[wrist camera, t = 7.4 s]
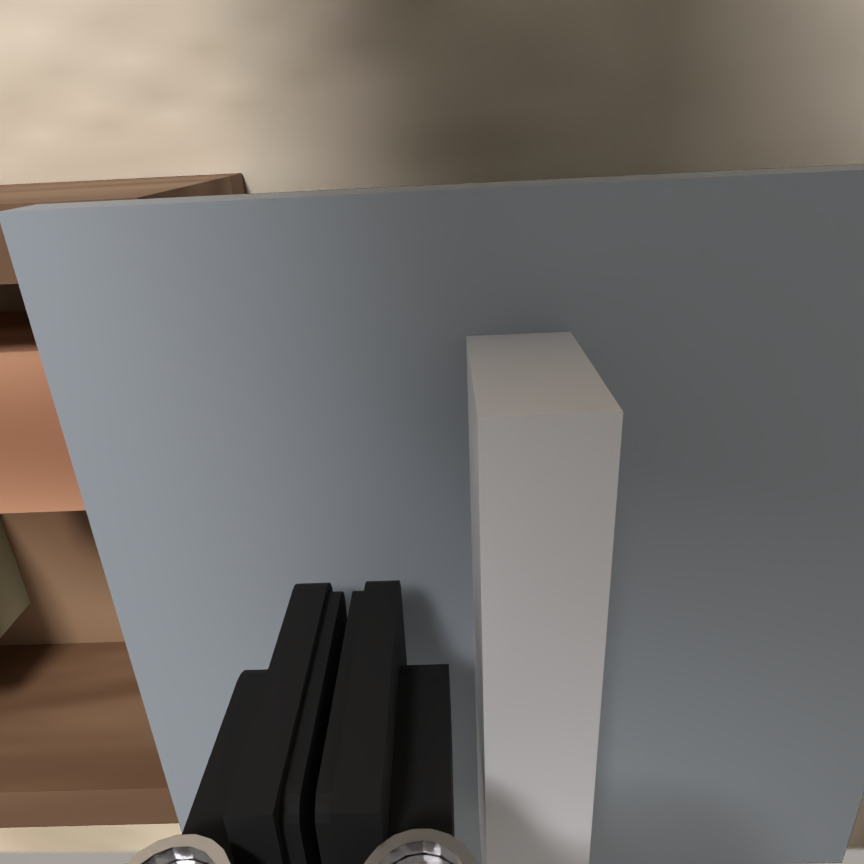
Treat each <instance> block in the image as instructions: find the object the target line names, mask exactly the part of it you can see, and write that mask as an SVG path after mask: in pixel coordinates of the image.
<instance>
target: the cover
mask: <svg viewBox="0 0 864 864" xmlns="http://www.w3.org/2000/svg"><path fill="white" fill-rule="evenodd" d="M0 224H1V227H2V230H3V234H4V237H5V241H6V244H7V247H8V251H9V254H10V257H11V261H12V264H13V267H14V271H15V274H16V277H17V281H18V284H19V288H20V291H21V294H22V298H23V301H24V304H25V308H26V311H27V314H28V318H29V321H30V324H31V328H32V331H33V335H34V338H35V341H36V345H37V348H38V351H39V355H40V358H41V361H42V365H43V368H44V371H45V375H46V378H47V382H48V385H49V388H50V392H51V395H52V398H53V402H54V405H55V408H56V412H57V415H58V418H59V422H60V425H61V428H62V432H63V435H64V439H65V442H66V445H67V449H68V452H69V455H70V459H71V462H72V465H73V469H74V472H75V475H76V479H77V482H78V486H79V489H80V492H81V496H82V499H83V502H84V506H85V509H86V512H87V516H88V519H89V522H90V526H91V529H92V533H93V536H94V539H95V543H96V546H97V549H98V553H99V556H100V559H101V563H102V566H103V569H104V573H105V576H106V580H107V583H108V586H109V590H110V593H111V596H112V600H113V603H114V606H115V610H116V613H117V616H118V620H119V623H120V627H121V630H122V633H123V637H124V640H125V643H126V647H127V650H128V653H129V657H130V660H131V663H132V667H133V670H134V673H135V677H136V680H137V684H138V687H139V690H140V694H141V697H142V700H143V704H144V707H145V710H146V714H147V717H148V720H149V724H150V727H151V731H152V734H153V737H154V741H155V744H156V747H157V751H158V754H159V757H160V761H161V764H162V767H163V771H164V774H165V778H166V781H167V784H168V788H169V791H170V794H171V798H172V801H173V804H174V808H175V811H176V814H177V818H178V821H179V825H180V828H181V831H182V832H183V830H184V827H185V824H186V821H187V818H188V816H189V813H190V810H191V807H192V805H193V802H194V799H195V796H196V793H197V791H198V788H199V785H200V782H201V780H202V777H203V774H204V771H205V768H206V766H207V763H208V760H209V757H210V755H211V752H212V749H213V746H214V743H215V741H216V738H217V735H218V732H219V730H220V727H221V724H222V721H223V718H224V716H225V713H226V710H227V707H228V705H229V702H230V699H231V696H232V693H233V691H234V688H235V685H236V682H237V680H238V678H239V676H240V674H241V673H242V672H243V671H244V670H263V669H268V668H269V664H270V661H271V658H272V655H273V652H274V648H275V645H276V642H277V639H278V635H279V632H280V629H281V626H282V623H283V619H284V616H285V613H286V610H287V607H288V603H289V600H290V597H291V594H292V590H293V588H294V585H295V584H299V583H331V585H332V589H333V592H335V591H343V592H344V595H345V602H346V610H347V618H348V612H349V607H350V601H351V596H352V592H353V591H364V587H365V583H366V581H391V580H400V583H401V593H402V606H403V618H404V631H405V644H406V657H407V665H431V664H449V676H450V698H451V724H452V756H453V795H454V835H455V838H456V839H457V840H459V841H460V842H462V843H463V844H465V845H466V847H467V848H468V849H469V850H470V852H471V853H472V854H473V855H474V857H475V858H476V859H477V861H478V864H804V863H805V864H806V863H807V864H808V863H842V860H843V857H844V854H845V851H846V848H847V845H848V842H849V838H850V835H851V832H852V829H853V826H854V822H855V819H856V816H857V813H858V810H859V807H860V803H861V800H862V797H863V794H864V164H852V165H831V166H811V167H790V168H770V169H749V170H729V171H708V172H687V173H667V174H646V175H626V176H605V177H585V178H564V179H544V180H523V181H503V182H482V183H462V184H441V185H421V186H400V187H380V188H359V189H338V190H318V191H297V192H277V193H256V194H236V195H215V196H195V197H174V198H154V199H133V200H113V201H92V202H72V203H51V204H35V205H30V206H25V207H20V208H15V209H9V210H4V211H0Z"/></svg>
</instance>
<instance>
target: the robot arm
mask: <svg viewBox="0 0 864 864" xmlns="http://www.w3.org/2000/svg"><path fill="white" fill-rule="evenodd" d="M126 864H478V861H477V859H476V858H475V857H474V855H473V854H472V853H471V852H470V850H469V849H468V848H467V847H466V845H465V844H463V843H462V842H460V841H459V840H457V839H456V838H455V835H454V795H453V756H452V724H451V698H450V676H449V664H431V665H407V657H406V644H405V631H404V618H403V606H402V593H401V583H400V580H391V581H366V583H365V587H364V591H353V592H352V596H351V601H350V607H349V612H348V618H347V610H346V602H345V595H344V592H343V591H335V592H333V589H332V585H331V583H299V584H295V585H294V588H293V590H292V594H291V597H290V600H289V603H288V607H287V610H286V613H285V616H284V619H283V623H282V626H281V629H280V632H279V635H278V639H277V642H276V645H275V648H274V652H273V655H272V658H271V661H270V664H269V668H268V669H263V670H244V671H243V672H242V673H241V674H240V676H239V678H238V680H237V682H236V685H235V688H234V691H233V693H232V696H231V699H230V702H229V705H228V707H227V710H226V713H225V716H224V718H223V721H222V724H221V727H220V730H219V732H218V735H217V738H216V741H215V743H214V746H213V749H212V752H211V755H210V757H209V760H208V763H207V766H206V768H205V771H204V774H203V777H202V780H201V782H200V785H199V788H198V791H197V793H196V796H195V799H194V802H193V805H192V807H191V810H190V813H189V816H188V818H187V821H186V824H185V827H184V830H183V832H182V835H175V836H172V837H169V838H165V839H162V840H159V841H157V842H155V843H153V844H151V845H150V846H148V847H146V848H145V849H143V850H141V851H139V852H138V853H137V854H136V855H135V856H134V857H132V858H131V859H130V860H129V861H128V862H127V863H126Z"/></svg>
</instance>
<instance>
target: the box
mask: <svg viewBox="0 0 864 864" xmlns="http://www.w3.org/2000/svg"><path fill="white" fill-rule="evenodd" d="M236 194H245V192H244V185H243V179H242V173H237V174H216V175H196V176H176V177H156V178H136V179H115V180H95V181H75V182H55V183H34V184H14V185H0V211H4V210H9V209H15V208H20V207H25V206H30V205H35V204H51V203H72V202H92V201H113V200H133V199H154V198H174V197H195V196H215V195H236ZM167 823H179V821H178V818H177V814H176V811H175V808H174V804H173V801H172V798H171V794H170V791H169V788H168V784H167V781H166V778H165V774H164V771H163V767H162V764H161V761H160V757H159V754H158V751H157V747H156V744H155V741H154V737H153V734H152V731H151V727H150V724H149V720H148V717H147V714H146V710H145V707H144V704H143V700H142V697H141V694H140V690H139V687H138V684H137V680H136V677H135V673H134V670H133V667H132V663H131V660H130V657H129V653H128V650H127V647H126V643H125V640H124V637H123V633H122V630H121V627H120V623H119V620H118V616H117V613H116V610H115V606H114V603H113V600H112V596H111V593H110V590H109V586H108V583H107V580H106V576H105V573H104V569H103V566H102V563H101V559H100V556H99V553H98V549H97V546H96V543H95V539H94V536H93V533H92V529H91V526H90V522H89V519H88V516H87V512H86V509H85V506H84V502H83V499H82V496H81V492H80V489H79V486H78V482H77V479H76V475H75V472H74V469H73V465H72V462H71V459H70V455H69V452H68V449H67V445H66V442H65V439H64V435H63V432H62V428H61V425H60V422H59V418H58V415H57V412H56V408H55V405H54V402H53V398H52V395H51V392H50V388H49V385H48V382H47V378H46V375H45V371H44V368H43V365H42V361H41V358H40V355H39V351H38V348H37V345H36V341H35V338H34V335H33V331H32V328H31V324H30V321H29V318H28V314H27V311H26V308H25V304H24V301H23V298H22V294H21V291H20V288H19V284H18V281H17V277H16V274H15V271H14V267H13V264H12V261H11V257H10V254H9V251H8V247H7V244H6V241H5V237H4V234H3V230H2V227H1V224H0V828H10V827H50V826H89V825H128V824H167Z"/></svg>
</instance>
